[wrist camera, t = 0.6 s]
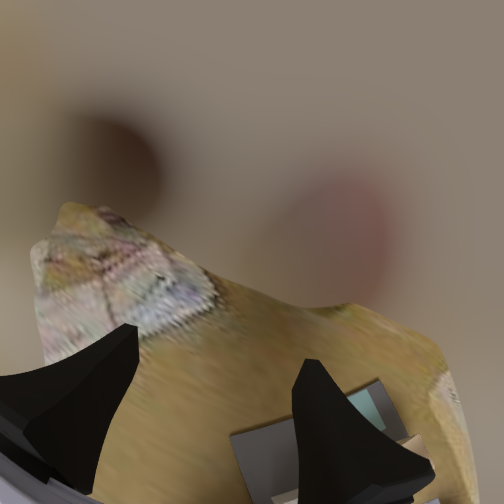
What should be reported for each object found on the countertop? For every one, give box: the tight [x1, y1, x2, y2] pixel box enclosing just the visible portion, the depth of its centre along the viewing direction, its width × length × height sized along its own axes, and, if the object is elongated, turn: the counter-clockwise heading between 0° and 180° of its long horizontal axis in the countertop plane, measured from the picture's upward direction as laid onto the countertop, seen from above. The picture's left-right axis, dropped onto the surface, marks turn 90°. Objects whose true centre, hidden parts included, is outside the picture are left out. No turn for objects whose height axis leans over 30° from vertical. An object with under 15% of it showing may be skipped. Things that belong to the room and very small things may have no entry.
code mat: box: [229, 380, 409, 504], centre depth 20 cm, size 14×18×1 cm
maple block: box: [396, 433, 435, 469], centre depth 16 cm, size 4×4×6 cm
